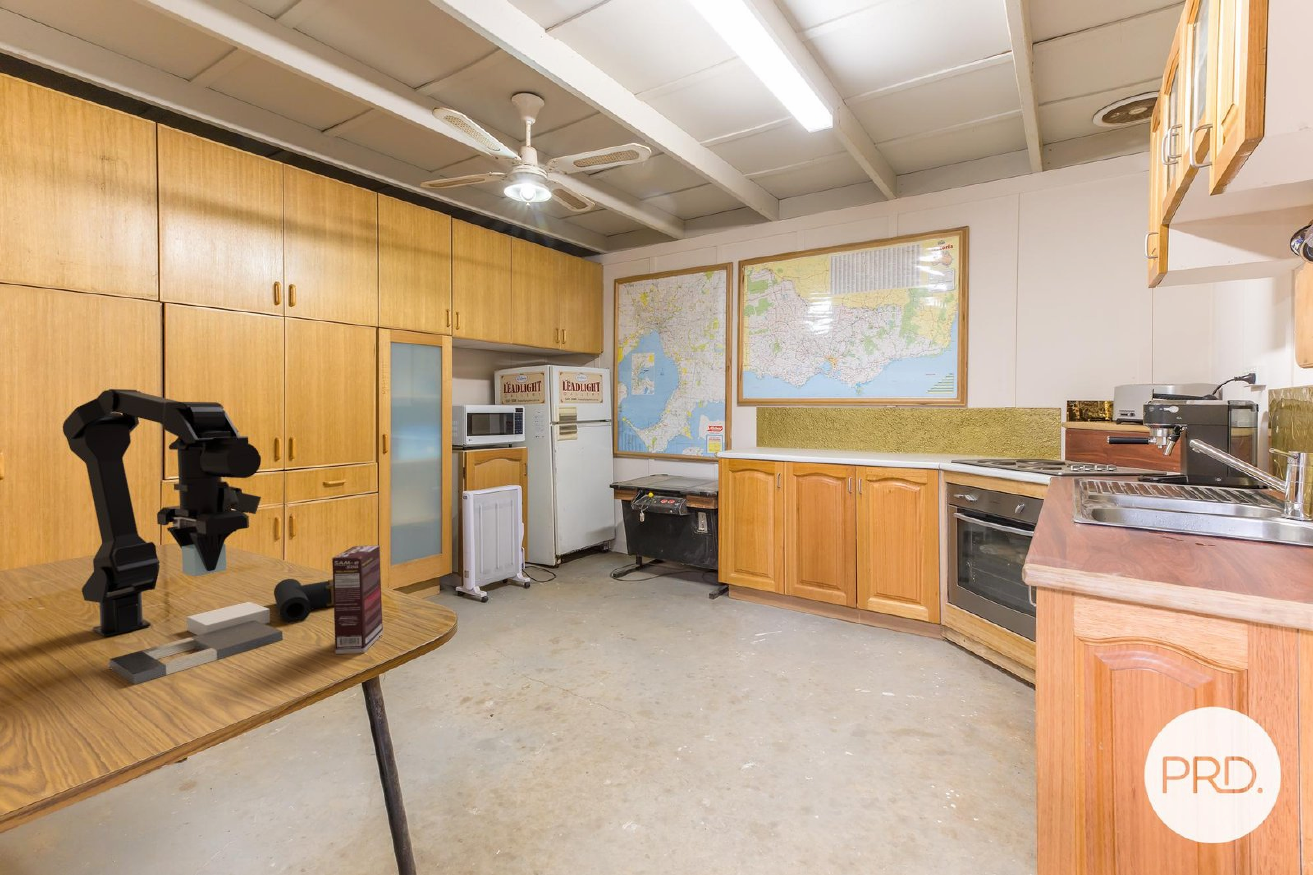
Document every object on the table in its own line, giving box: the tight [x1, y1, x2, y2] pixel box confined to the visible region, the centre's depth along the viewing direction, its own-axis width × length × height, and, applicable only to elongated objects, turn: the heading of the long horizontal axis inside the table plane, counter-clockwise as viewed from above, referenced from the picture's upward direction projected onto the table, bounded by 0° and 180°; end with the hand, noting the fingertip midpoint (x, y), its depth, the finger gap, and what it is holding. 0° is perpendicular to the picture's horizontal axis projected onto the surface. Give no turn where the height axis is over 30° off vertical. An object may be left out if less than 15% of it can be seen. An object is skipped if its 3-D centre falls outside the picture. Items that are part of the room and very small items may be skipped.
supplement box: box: [331, 544, 384, 655], centre depth 100 cm, size 9×5×16 cm, turn 5°
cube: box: [181, 543, 227, 578], centre depth 101 cm, size 4×4×4 cm
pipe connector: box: [273, 578, 334, 624], centre depth 119 cm, size 12×5×15 cm
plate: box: [109, 620, 284, 685], centre depth 97 cm, size 10×20×2 cm, turn 147°
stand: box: [186, 601, 271, 636], centre depth 109 cm, size 8×10×2 cm
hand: (204, 568), depth 101 cm, fingers closed on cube, 4 cm apart
